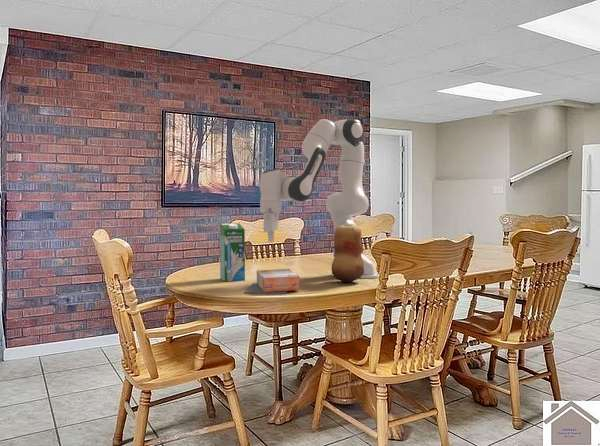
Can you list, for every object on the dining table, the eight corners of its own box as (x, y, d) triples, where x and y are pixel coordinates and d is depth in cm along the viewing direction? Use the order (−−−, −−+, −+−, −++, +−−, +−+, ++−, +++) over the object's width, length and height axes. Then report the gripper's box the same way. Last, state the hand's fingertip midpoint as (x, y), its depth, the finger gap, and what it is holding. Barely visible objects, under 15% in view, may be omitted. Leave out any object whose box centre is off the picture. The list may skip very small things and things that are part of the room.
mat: (290, 284, 208) (290, 283, 208) (285, 293, 187) (285, 292, 187) (252, 284, 209) (252, 283, 209) (243, 293, 188) (243, 292, 188)
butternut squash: (332, 285, 206) (332, 225, 205) (330, 279, 219) (330, 223, 218) (365, 285, 206) (366, 224, 205) (362, 279, 219) (362, 223, 218)
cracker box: (256, 284, 208) (263, 292, 187) (256, 270, 207) (263, 276, 187) (289, 282, 210) (300, 290, 190) (289, 268, 210) (299, 275, 190)
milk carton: (224, 281, 215) (224, 224, 214) (220, 278, 224) (219, 223, 222) (245, 280, 219) (244, 223, 217) (239, 277, 227) (239, 222, 226)
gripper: (275, 208, 195) (275, 243, 195) (280, 207, 215) (281, 239, 216) (259, 208, 195) (259, 243, 196) (266, 207, 216) (266, 239, 216)
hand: (271, 241), depth 206 cm, fingers closed
